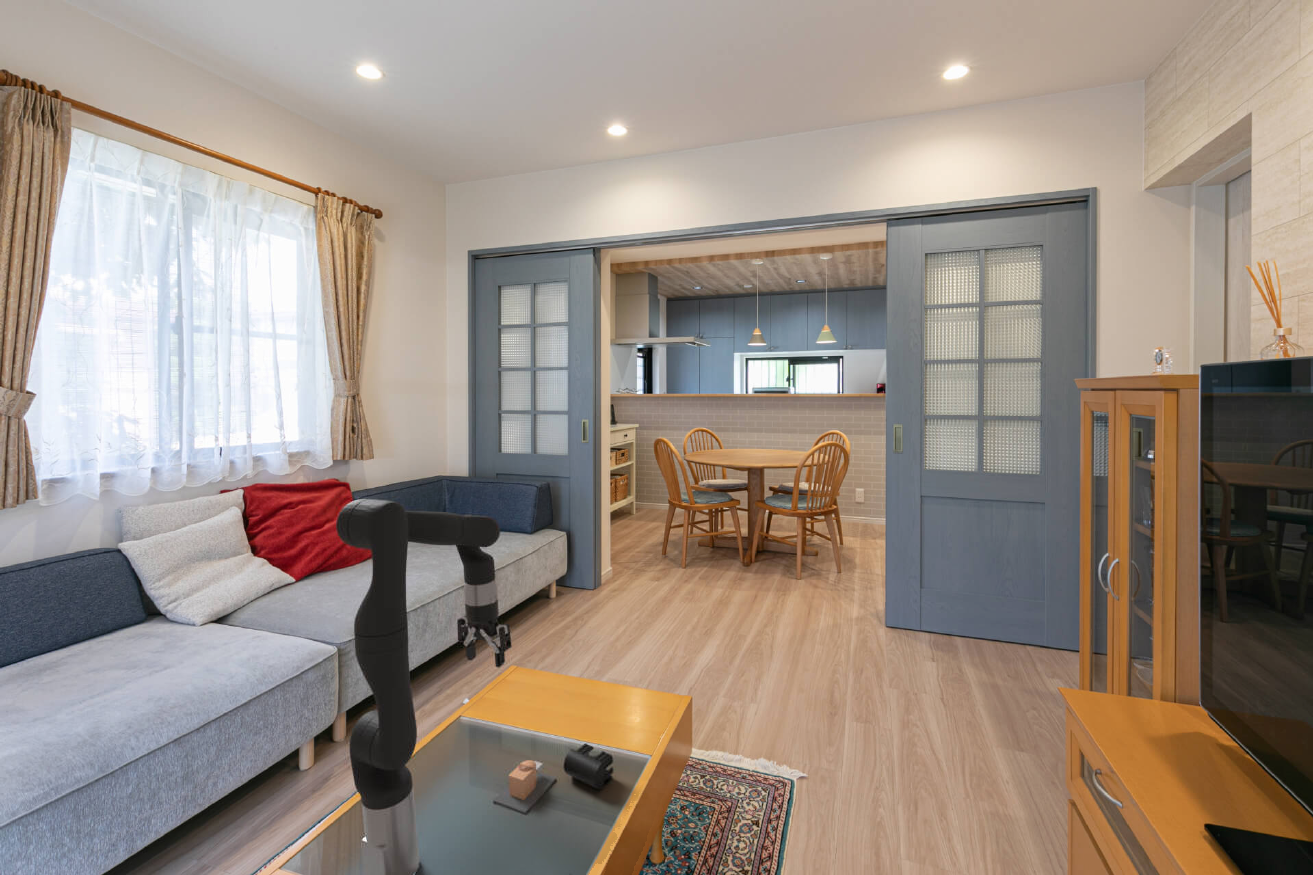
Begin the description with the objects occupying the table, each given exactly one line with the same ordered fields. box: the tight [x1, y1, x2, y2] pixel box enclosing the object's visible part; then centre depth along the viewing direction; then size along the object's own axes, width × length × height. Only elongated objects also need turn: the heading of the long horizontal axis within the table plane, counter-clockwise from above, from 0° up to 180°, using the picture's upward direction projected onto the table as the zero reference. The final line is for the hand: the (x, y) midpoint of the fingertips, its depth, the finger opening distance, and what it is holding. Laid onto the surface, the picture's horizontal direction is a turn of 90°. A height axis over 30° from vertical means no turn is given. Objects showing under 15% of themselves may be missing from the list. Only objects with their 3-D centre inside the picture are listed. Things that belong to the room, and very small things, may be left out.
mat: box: [492, 771, 557, 815], centre depth 145 cm, size 12×9×1 cm
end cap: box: [563, 743, 614, 791], centre depth 147 cm, size 10×7×7 cm
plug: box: [508, 759, 544, 800], centre depth 146 cm, size 9×4×5 cm, turn 155°
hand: (485, 662), depth 149 cm, fingers open, 8 cm apart
